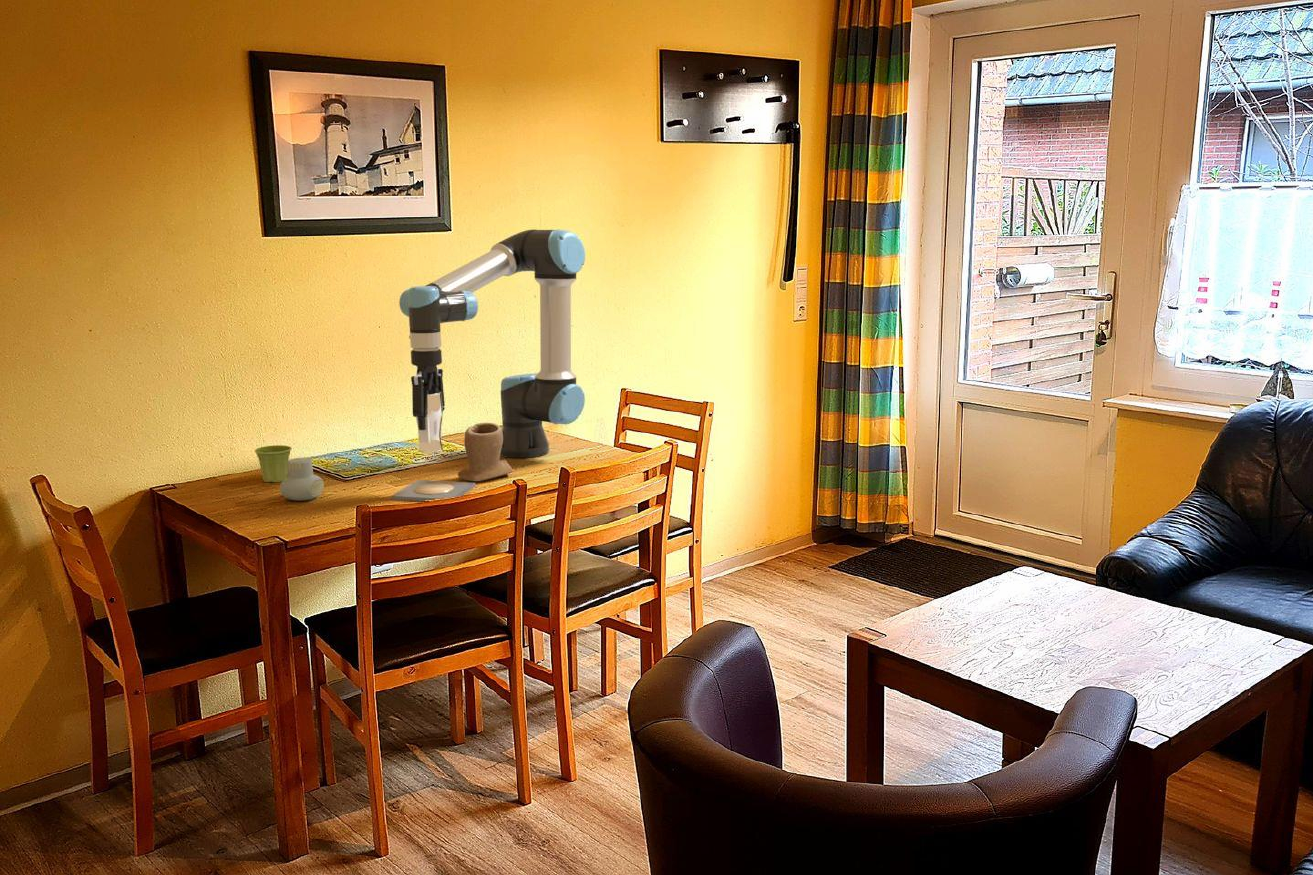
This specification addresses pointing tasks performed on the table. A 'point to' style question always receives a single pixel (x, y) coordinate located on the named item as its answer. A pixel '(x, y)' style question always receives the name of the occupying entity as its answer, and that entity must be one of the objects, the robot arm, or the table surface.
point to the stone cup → (484, 453)
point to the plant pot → (274, 462)
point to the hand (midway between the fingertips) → (430, 438)
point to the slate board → (432, 490)
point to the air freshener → (301, 481)
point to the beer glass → (433, 424)
